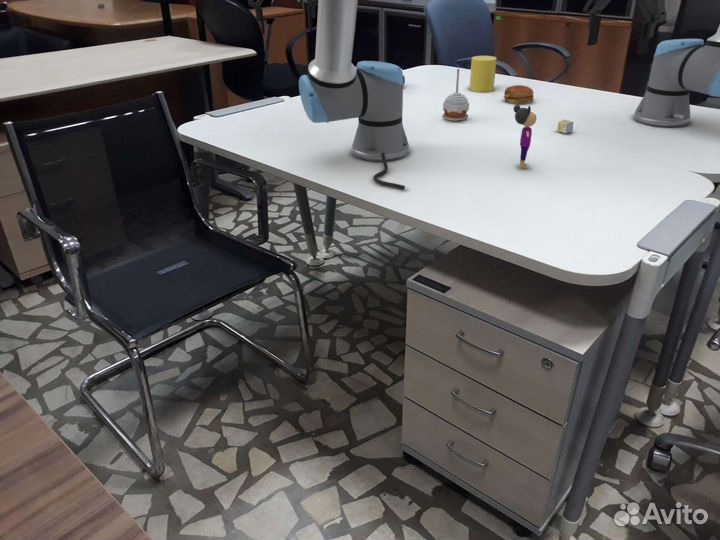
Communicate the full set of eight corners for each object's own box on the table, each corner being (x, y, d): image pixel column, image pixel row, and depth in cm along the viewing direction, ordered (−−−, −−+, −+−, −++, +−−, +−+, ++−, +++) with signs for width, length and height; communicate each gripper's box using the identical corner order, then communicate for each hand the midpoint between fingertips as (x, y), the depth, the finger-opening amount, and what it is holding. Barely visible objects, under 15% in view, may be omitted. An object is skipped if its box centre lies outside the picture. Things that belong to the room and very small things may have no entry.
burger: (537, 99, 196) (538, 85, 194) (525, 105, 190) (527, 91, 188) (510, 95, 202) (511, 82, 199) (498, 101, 195) (499, 87, 193)
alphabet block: (565, 133, 164) (567, 123, 162) (556, 131, 166) (558, 121, 164) (572, 131, 165) (574, 121, 164) (563, 129, 168) (565, 119, 166)
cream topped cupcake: (469, 115, 182) (472, 66, 174) (466, 122, 175) (469, 72, 168) (444, 114, 184) (447, 66, 176) (441, 121, 177) (443, 71, 169)
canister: (485, 85, 216) (488, 54, 210) (498, 90, 209) (501, 59, 203) (465, 87, 214) (467, 56, 208) (477, 93, 206) (479, 61, 201)
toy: (530, 174, 138) (539, 113, 130) (507, 173, 139) (514, 112, 131) (528, 159, 147) (536, 101, 139) (506, 158, 148) (513, 100, 140)
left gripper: (324, -55, 158) (328, 28, 168) (232, -52, 154) (243, 32, 165) (327, -55, 151) (332, 31, 162) (232, -52, 148) (243, 36, 158)
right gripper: (577, -54, 132) (563, 43, 143) (679, -53, 114) (653, 58, 125) (598, -55, 135) (583, 40, 146) (700, -55, 117) (674, 54, 128)
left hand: (287, 32), depth 163 cm, fingers open, 13 cm apart
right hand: (615, 48), depth 135 cm, fingers open, 13 cm apart
